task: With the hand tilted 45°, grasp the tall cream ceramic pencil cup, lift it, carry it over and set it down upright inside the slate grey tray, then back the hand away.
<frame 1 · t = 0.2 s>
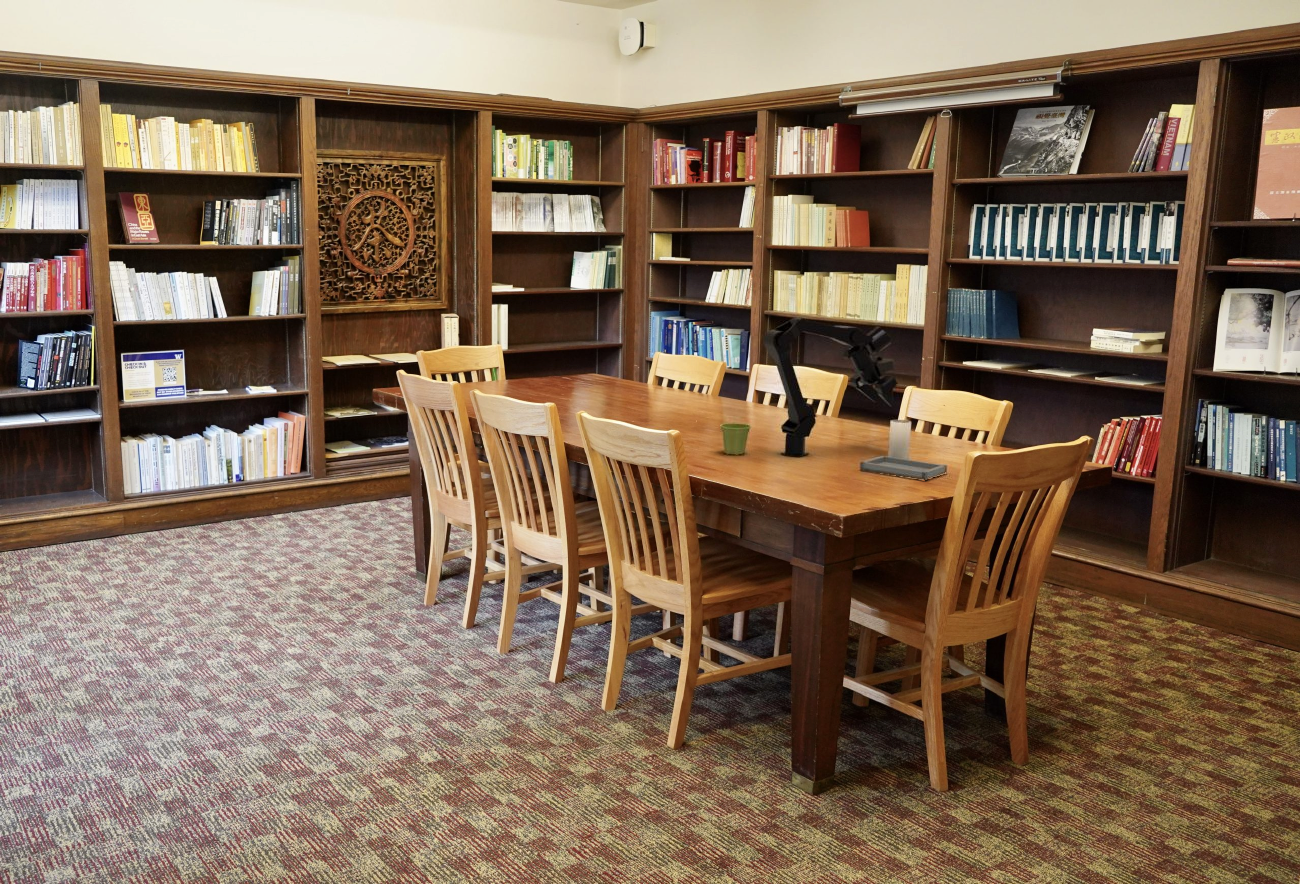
hand: (884, 403, 349), 15 cm above the table, tool tilted 35°, fingers open, 9 cm apart
plant pot: (734, 454, 340), on the table
tray: (902, 472, 318), on the table
pencil cup: (898, 462, 332), on the table
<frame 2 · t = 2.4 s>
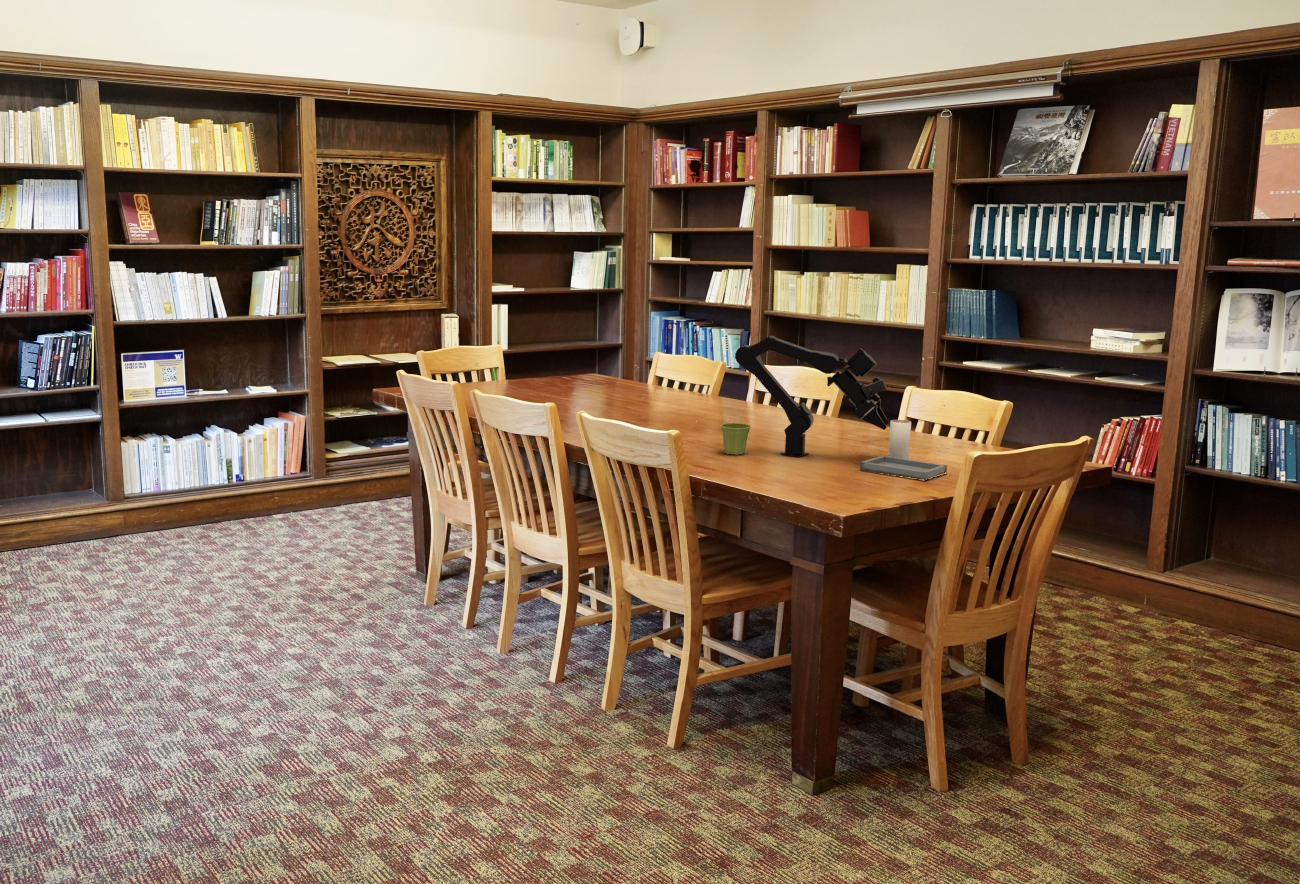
hand: (886, 426, 331), 11 cm above the table, tool tilted 45°, fingers open, 9 cm apart
nothing on the table moved.
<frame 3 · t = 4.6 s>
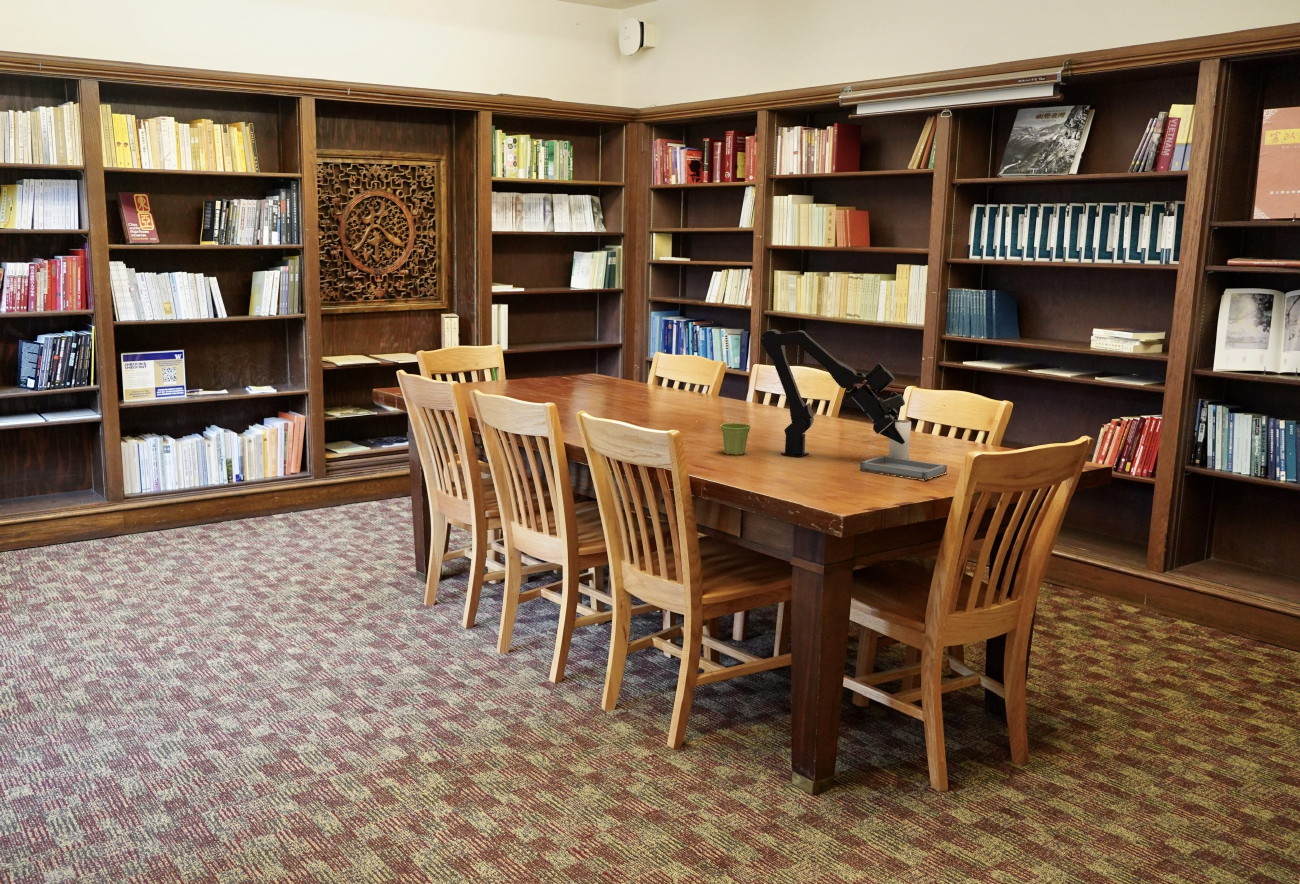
hand: (904, 441, 331), 7 cm above the table, tool tilted 45°, fingers closed on pencil cup, 6 cm apart
pencil cup: (898, 462, 332), on the table, touching gripper
everything else where it was.
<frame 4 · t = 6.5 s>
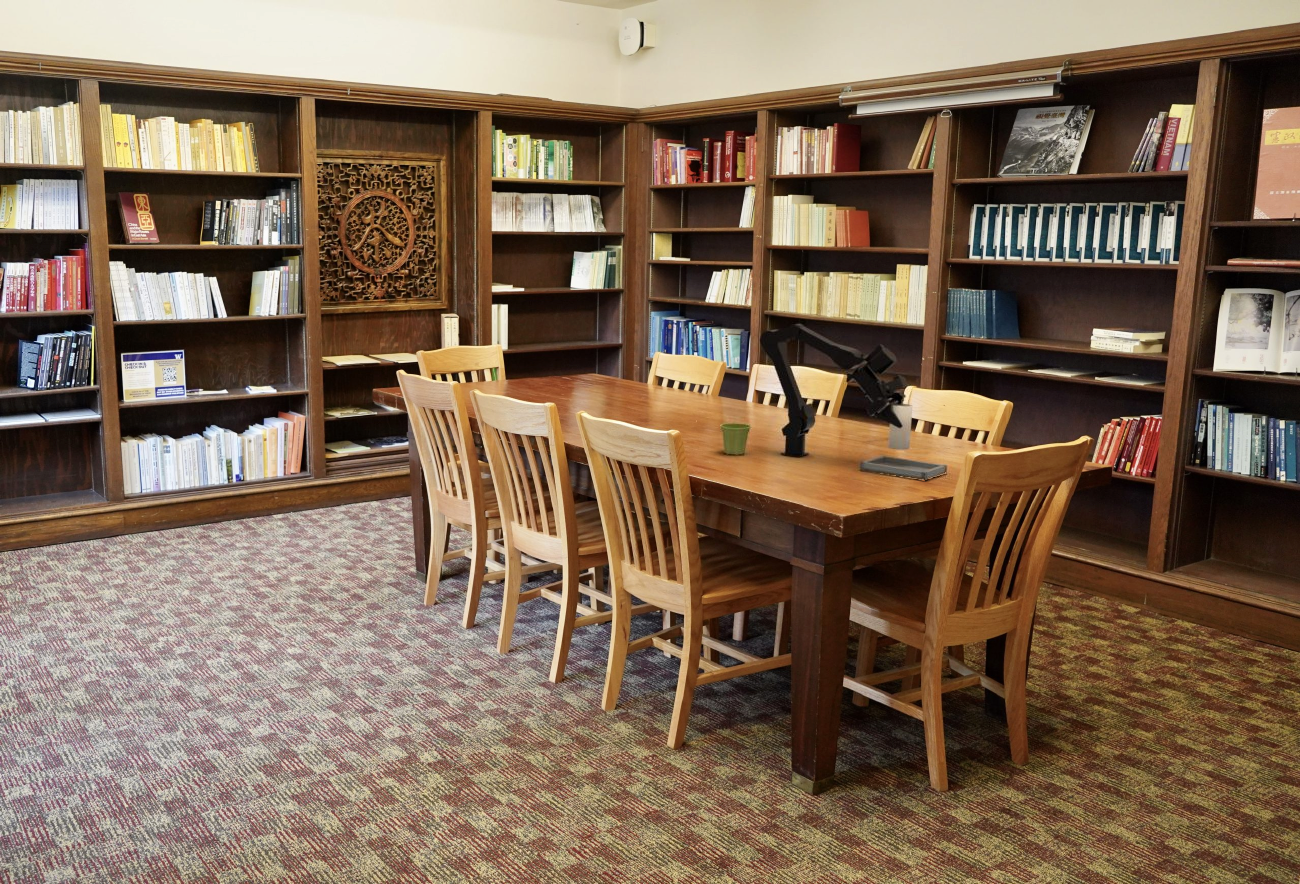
hand: (904, 425, 321), 13 cm above the table, tool tilted 45°, fingers closed on pencil cup, 6 cm apart
pencil cup: (898, 447, 323), point 6 cm above the table, touching gripper
everything else where it was.
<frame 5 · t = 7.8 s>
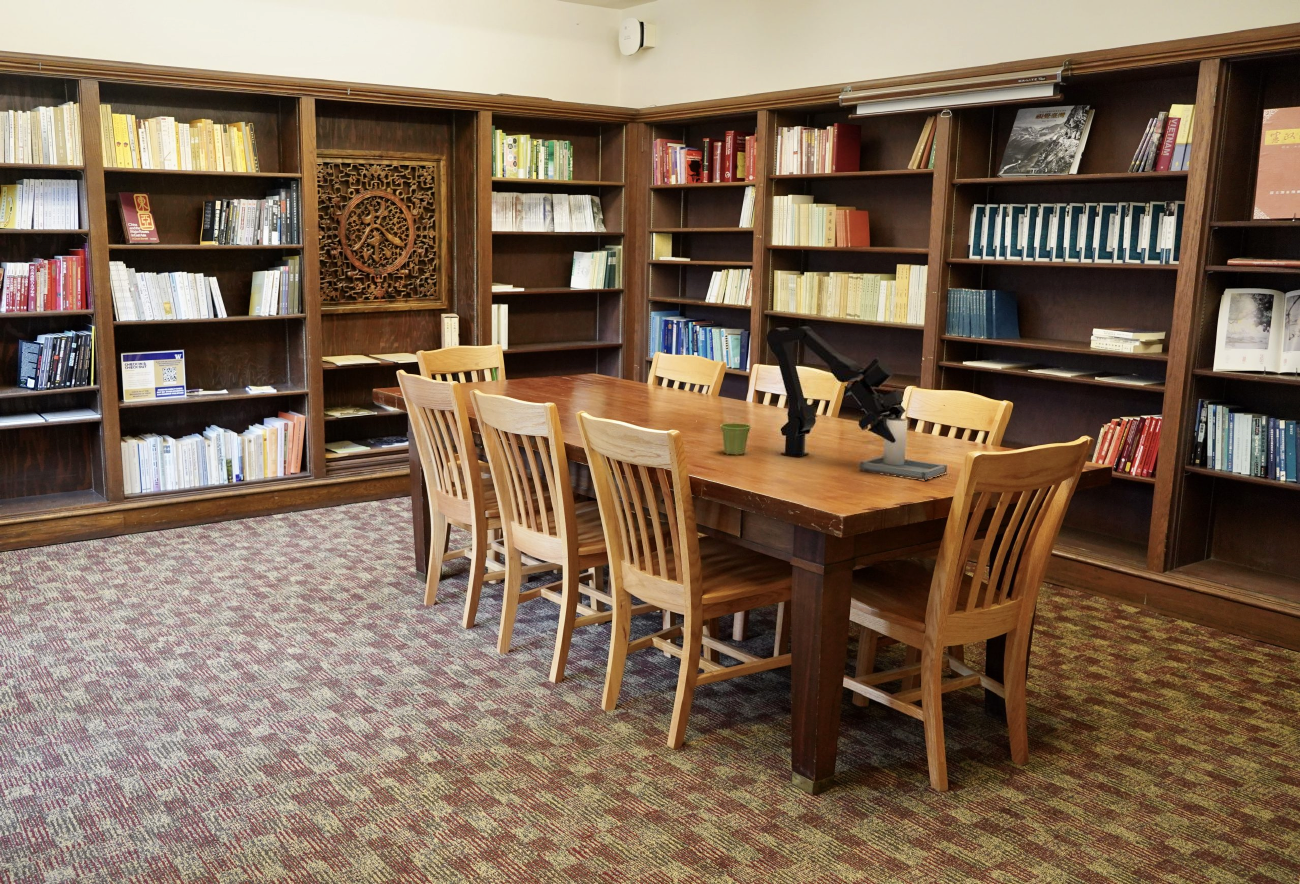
hand: (899, 440, 318), 9 cm above the table, tool tilted 45°, fingers closed on pencil cup, 6 cm apart
pencil cup: (893, 462, 320), point 2 cm above the table, touching gripper
everything else where it was.
when the fingers open (9 cm above the table, at t = 8.5 s): pencil cup drops 1 cm, resting on tray.
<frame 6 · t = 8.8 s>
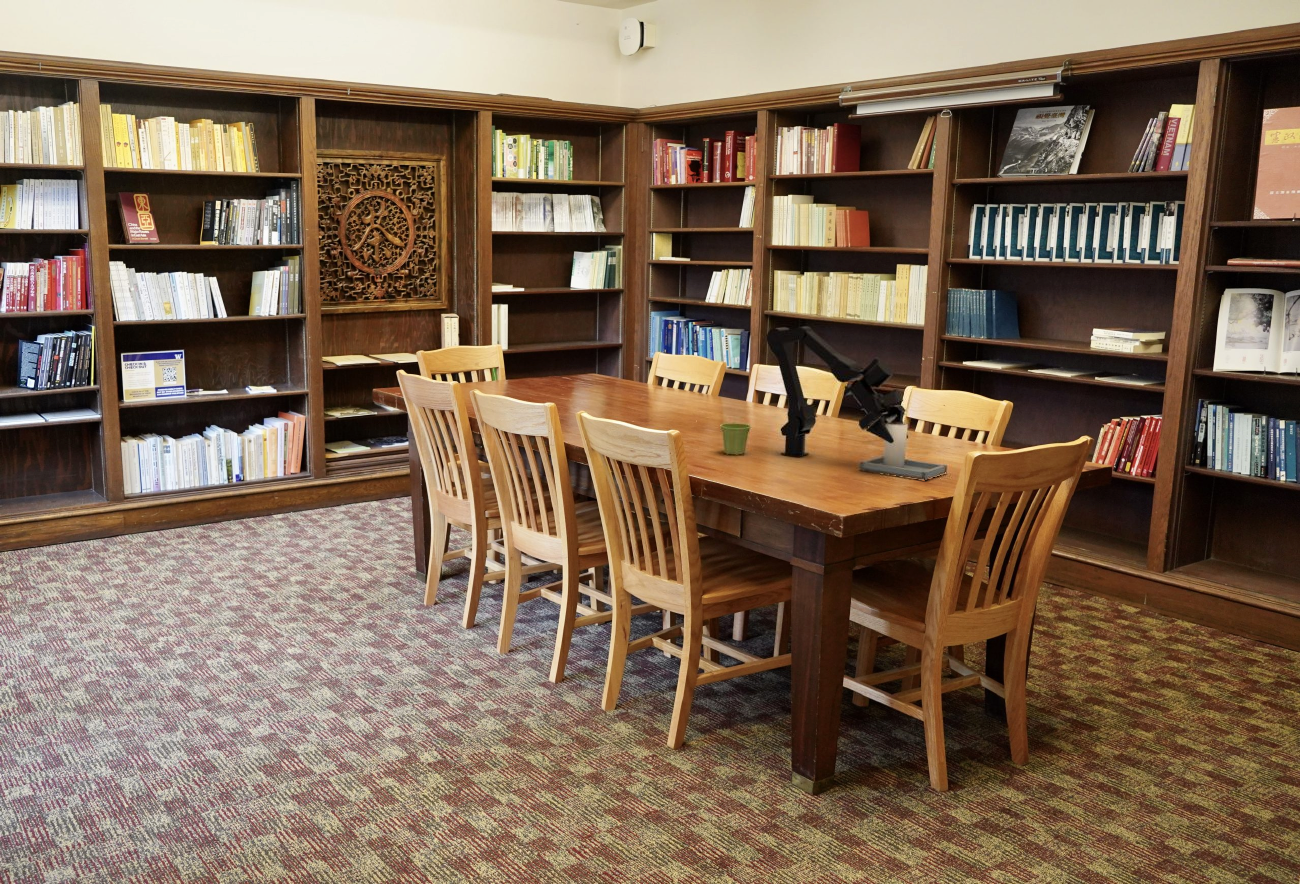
hand: (899, 440, 318), 9 cm above the table, tool tilted 45°, fingers open, 9 cm apart
pencil cup: (893, 467, 320), point 1 cm above the table, touching tray
everything else where it was.
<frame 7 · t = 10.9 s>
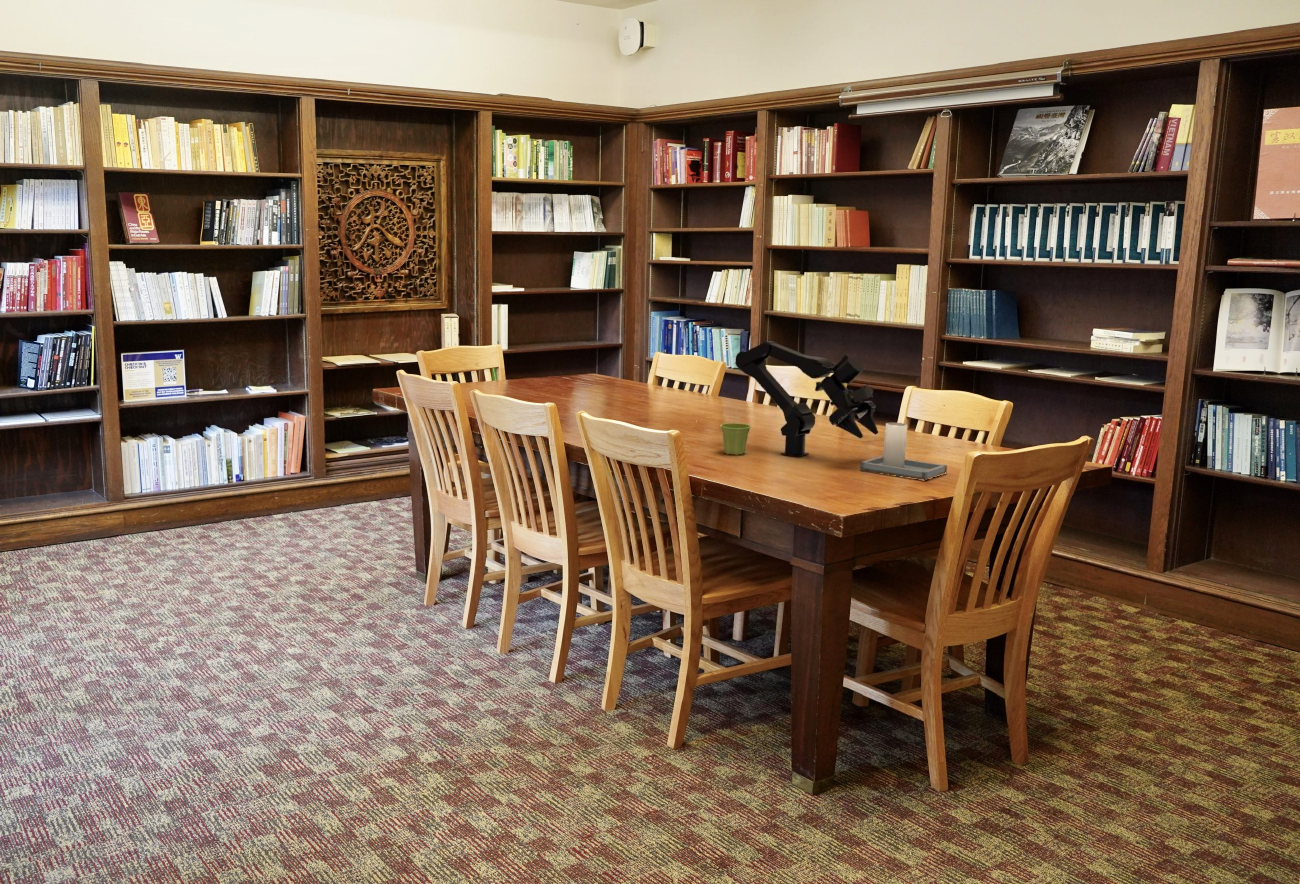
hand: (869, 435, 324), 9 cm above the table, tool tilted 45°, fingers open, 9 cm apart
nothing on the table moved.
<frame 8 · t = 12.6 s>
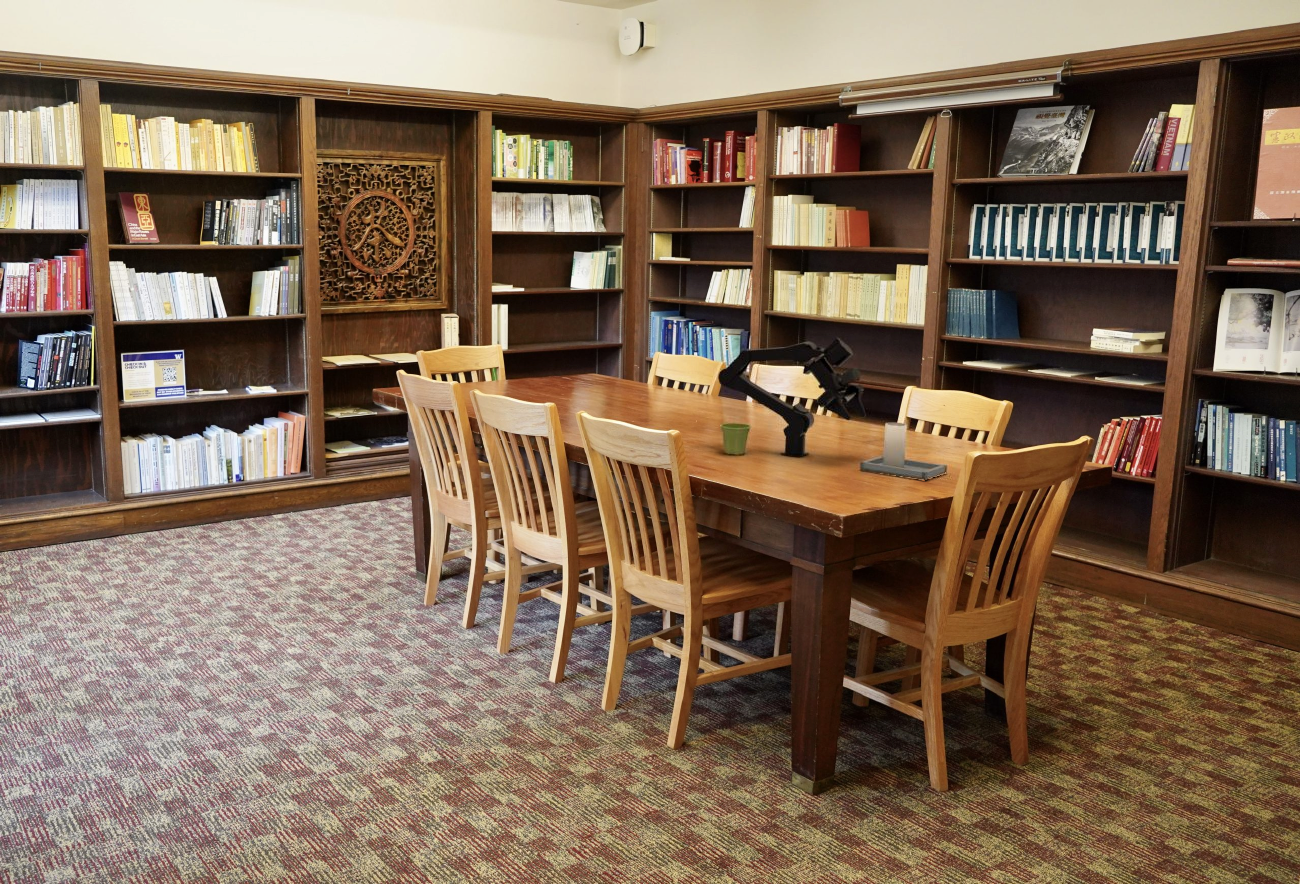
hand: (857, 417, 328), 14 cm above the table, tool tilted 45°, fingers open, 9 cm apart
nothing on the table moved.
at the end: pencil cup inside the target area on the tray (3.1 cm from its centre), point 1.0 cm above the tray's base; pencil cup tilted 1°; the gripper is holding nothing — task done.
